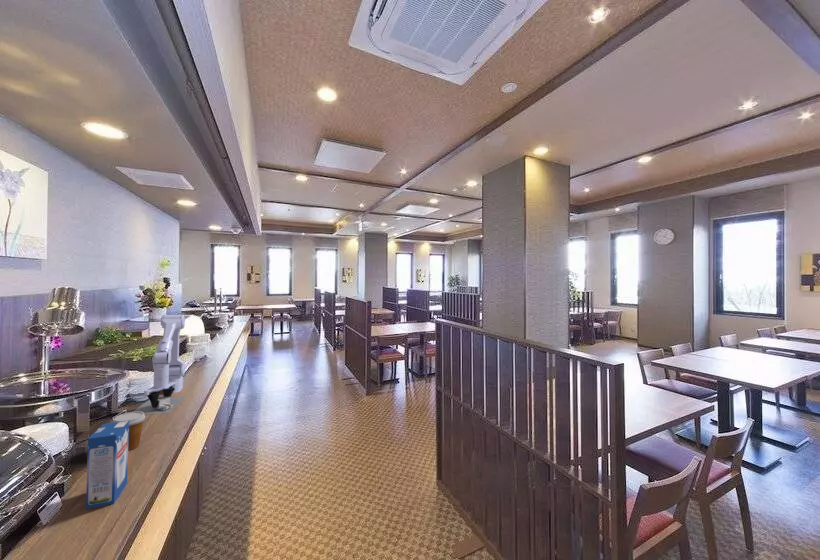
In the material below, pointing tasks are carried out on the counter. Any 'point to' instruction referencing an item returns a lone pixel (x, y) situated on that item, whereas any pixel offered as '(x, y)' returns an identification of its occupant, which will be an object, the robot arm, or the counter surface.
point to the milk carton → (107, 464)
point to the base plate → (148, 410)
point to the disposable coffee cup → (132, 427)
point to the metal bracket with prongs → (163, 402)
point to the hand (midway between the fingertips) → (160, 405)
